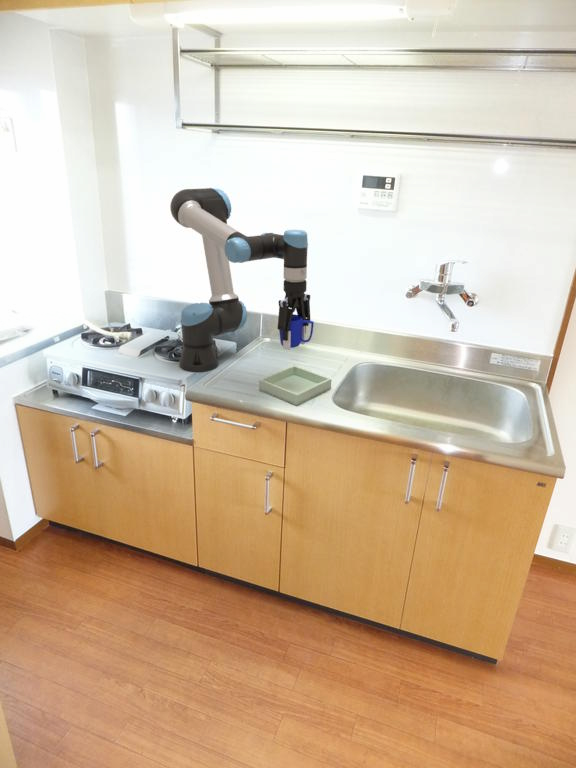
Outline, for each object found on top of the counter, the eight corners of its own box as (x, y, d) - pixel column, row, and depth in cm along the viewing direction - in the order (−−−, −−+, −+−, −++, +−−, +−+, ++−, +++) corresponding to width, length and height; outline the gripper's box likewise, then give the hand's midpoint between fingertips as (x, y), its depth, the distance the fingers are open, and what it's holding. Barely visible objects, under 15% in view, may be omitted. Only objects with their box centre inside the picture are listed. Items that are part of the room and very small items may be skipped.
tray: (258, 390, 178) (259, 379, 176) (293, 375, 190) (294, 365, 189) (296, 406, 167) (297, 395, 166) (330, 389, 180) (331, 378, 178)
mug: (310, 351, 170) (311, 322, 165) (276, 348, 172) (275, 320, 168) (315, 343, 177) (315, 315, 173) (281, 340, 179) (281, 313, 175)
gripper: (283, 286, 155) (282, 356, 165) (322, 276, 169) (320, 341, 178) (265, 282, 160) (266, 350, 169) (305, 273, 174) (304, 337, 183)
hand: (294, 346), depth 174 cm, fingers closed on mug, 7 cm apart
